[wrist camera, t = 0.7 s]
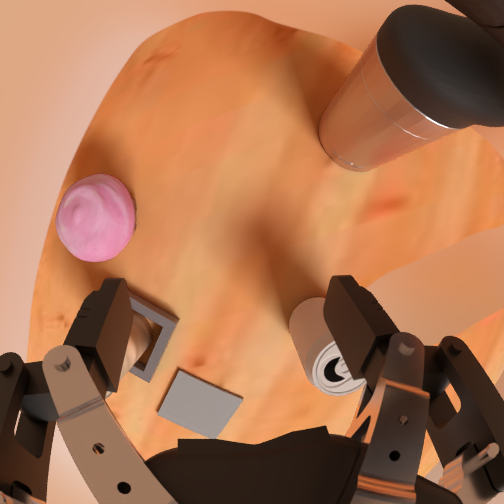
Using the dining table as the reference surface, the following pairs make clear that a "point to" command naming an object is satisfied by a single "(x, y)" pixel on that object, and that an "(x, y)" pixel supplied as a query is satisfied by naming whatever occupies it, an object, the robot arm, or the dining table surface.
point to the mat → (198, 405)
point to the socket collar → (168, 328)
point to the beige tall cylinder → (136, 343)
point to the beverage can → (320, 350)
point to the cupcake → (96, 218)
